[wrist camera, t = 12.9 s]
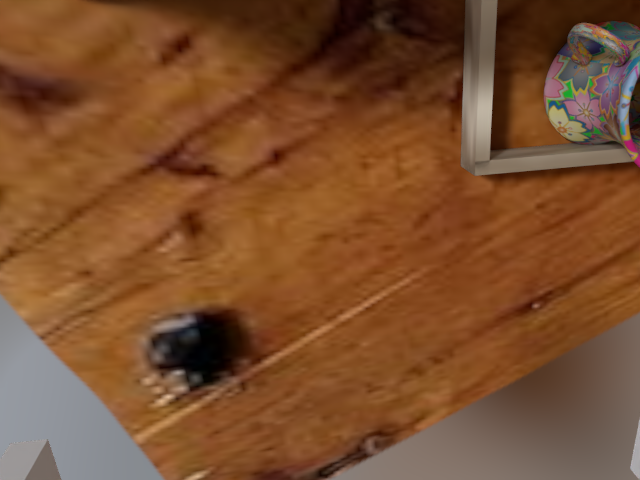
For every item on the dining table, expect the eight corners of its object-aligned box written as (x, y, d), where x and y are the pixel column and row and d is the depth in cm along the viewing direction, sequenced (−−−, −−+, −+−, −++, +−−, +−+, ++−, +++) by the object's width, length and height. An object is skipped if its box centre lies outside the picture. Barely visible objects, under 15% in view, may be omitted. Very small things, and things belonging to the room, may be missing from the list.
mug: (682, 59, 38) (827, 66, 28) (600, 169, 40) (705, 211, 30) (558, -35, 35) (670, -65, 25) (477, 90, 37) (550, 108, 27)
